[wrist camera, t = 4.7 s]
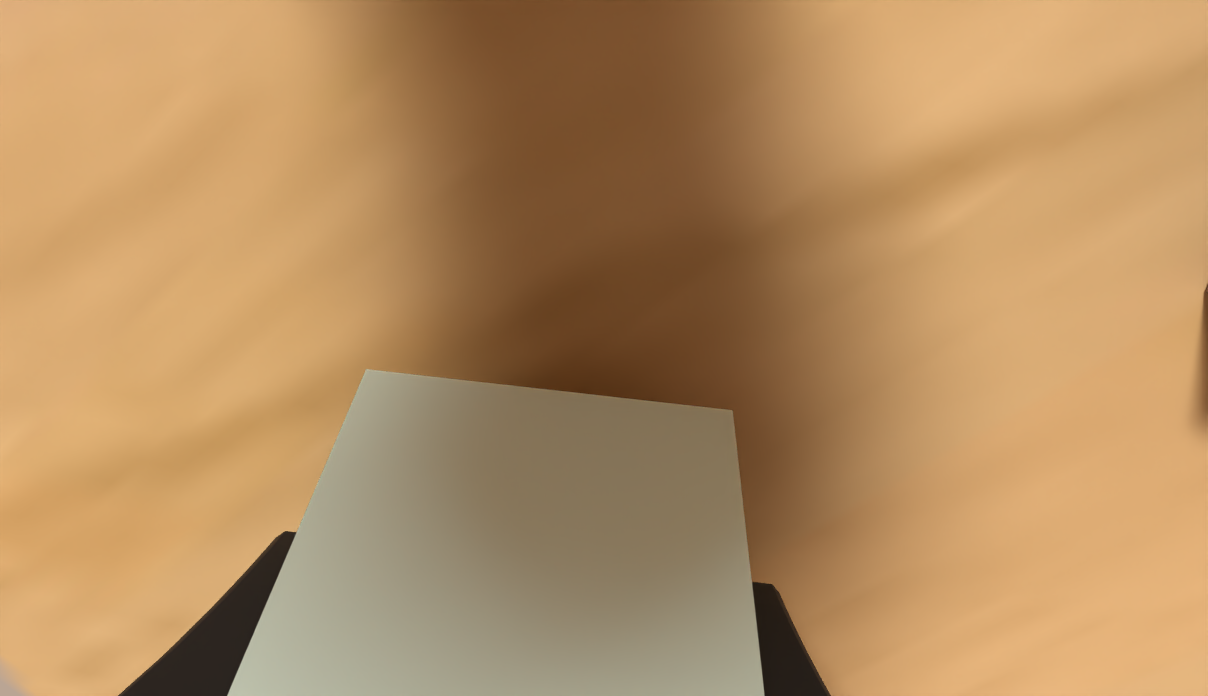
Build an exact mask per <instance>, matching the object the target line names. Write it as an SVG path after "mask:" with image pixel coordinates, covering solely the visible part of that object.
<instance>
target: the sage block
mask: <svg viewBox="0 0 1208 696" xmlns="http://www.w3.org/2000/svg"><path fill="white" fill-rule="evenodd" d="M227 696H765V695H764V686H763V677H762V668H761V659H760V650H759V641H758V632H757V623H756V614H755V605H754V597H753V588H752V579H751V570H750V561H749V552H748V543H747V534H746V525H745V516H744V507H743V498H742V489H741V480H740V471H739V462H738V453H737V444H736V435H735V426H734V417H733V410H727V409H718V408H709V407H700V406H691V405H682V404H673V403H664V402H656V401H647V400H638V399H629V398H620V397H611V396H602V395H593V394H584V393H575V392H566V391H557V390H548V389H539V388H531V387H522V386H513V385H504V384H495V383H486V382H477V381H468V380H459V379H450V378H441V377H432V376H423V375H414V374H405V373H397V372H388V371H379V370H370V369H366V371H365V373H364V375H363V378H362V380H361V382H360V385H359V387H358V390H357V392H356V394H355V397H354V399H353V401H352V404H351V406H350V408H349V411H348V413H347V415H346V418H345V420H344V422H343V425H342V427H341V429H340V432H339V434H338V437H337V439H336V441H335V444H334V446H333V448H332V451H331V453H330V455H329V458H328V460H327V462H326V465H325V467H324V469H323V472H322V474H321V476H320V479H319V481H318V484H317V486H316V488H315V491H314V493H313V495H312V498H311V500H310V502H309V505H308V507H307V509H306V512H305V514H304V516H303V519H302V521H301V523H300V526H299V528H298V531H297V533H296V535H295V538H294V540H293V542H292V545H291V547H290V549H289V552H288V554H287V556H286V559H285V561H284V563H283V566H282V568H281V570H280V573H279V575H278V578H277V580H276V582H275V585H274V587H273V589H272V592H271V594H270V596H269V599H268V601H267V603H266V606H265V608H264V610H263V613H262V615H261V617H260V620H259V622H258V624H257V627H256V629H255V632H254V634H253V636H252V639H251V641H250V643H249V646H248V648H247V650H246V653H245V655H244V657H243V660H242V662H241V664H240V667H239V669H238V671H237V674H236V676H235V679H234V681H233V683H232V686H231V688H230V690H229V693H228V695H227Z"/></svg>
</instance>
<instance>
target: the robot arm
mask: <svg viewBox="0 0 1208 696" xmlns="http://www.w3.org/2000/svg"><path fill="white" fill-rule="evenodd" d="M296 533H297V532H288V531H285V532H283V533H282V534H281V535H279V536H278V537H276V538H275V539H274V540H273V542H272V543H271V544H270V545H269V546H268V547H267V548H266V550H265V551H264V552H263V553H262V554H261V555H260V556H259V557H258V559H257V560H256V561H255V562H254V563H253V564H252V565H251V566H250V567H249V569H248V570H247V571H246V572H245V573H244V574H243V575H242V576H241V577H240V578H239V579H238V580H237V582H236V583H235V584H234V585H233V586H232V587H231V588H230V589H229V590H228V591H227V592H226V593H225V594H224V595H223V596H222V597H221V598H220V600H219V601H218V602H217V603H216V604H215V605H214V606H213V607H212V608H211V609H210V610H209V611H208V612H207V613H206V614H205V615H204V616H203V617H202V618H201V619H200V620H199V621H198V622H197V623H196V624H195V625H194V626H193V627H192V628H191V629H190V630H189V631H188V632H187V633H186V634H185V635H184V636H183V637H182V638H181V639H180V640H179V641H178V642H176V643H175V644H174V645H173V646H172V647H171V648H170V649H169V650H168V651H167V652H166V653H165V654H164V655H163V656H162V657H161V658H160V659H159V660H158V661H156V662H155V663H154V664H153V665H152V666H151V667H150V668H149V669H147V670H146V671H145V672H144V673H143V674H142V675H141V676H140V677H138V678H137V679H136V680H135V681H134V682H133V683H132V684H131V685H130V686H128V687H127V688H126V689H125V690H124V691H123V692H122V693H121V694H119V695H118V696H227V695H228V693H229V690H230V688H231V686H232V683H233V681H234V679H235V676H236V674H237V671H238V669H239V667H240V664H241V662H242V660H243V657H244V655H245V653H246V650H247V648H248V646H249V643H250V641H251V639H252V636H253V634H254V632H255V629H256V627H257V624H258V622H259V620H260V617H261V615H262V613H263V610H264V608H265V606H266V603H267V601H268V599H269V596H270V594H271V592H272V589H273V587H274V585H275V582H276V580H277V578H278V575H279V573H280V570H281V568H282V566H283V563H284V561H285V559H286V556H287V554H288V552H289V549H290V547H291V545H292V542H293V540H294V538H295V535H296ZM752 588H753V597H754V605H755V614H756V623H757V632H758V641H759V650H760V659H761V668H762V677H763V686H764V695H765V696H831V695H830V694H829V692H828V690H827V688H826V686H825V685H824V683H823V681H822V679H821V677H820V675H819V674H818V672H817V670H816V668H815V666H814V664H813V662H812V660H811V658H810V656H809V654H808V653H807V651H806V649H805V647H804V645H803V643H802V641H801V639H800V637H799V635H798V633H797V631H796V629H795V626H794V624H793V622H792V620H791V618H790V616H789V614H788V612H787V609H786V607H785V605H784V603H783V600H782V598H781V596H780V593H779V592H778V591H777V590H776V588H775V587H774V586H773V585H772V584H766V583H756V582H752Z"/></svg>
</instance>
